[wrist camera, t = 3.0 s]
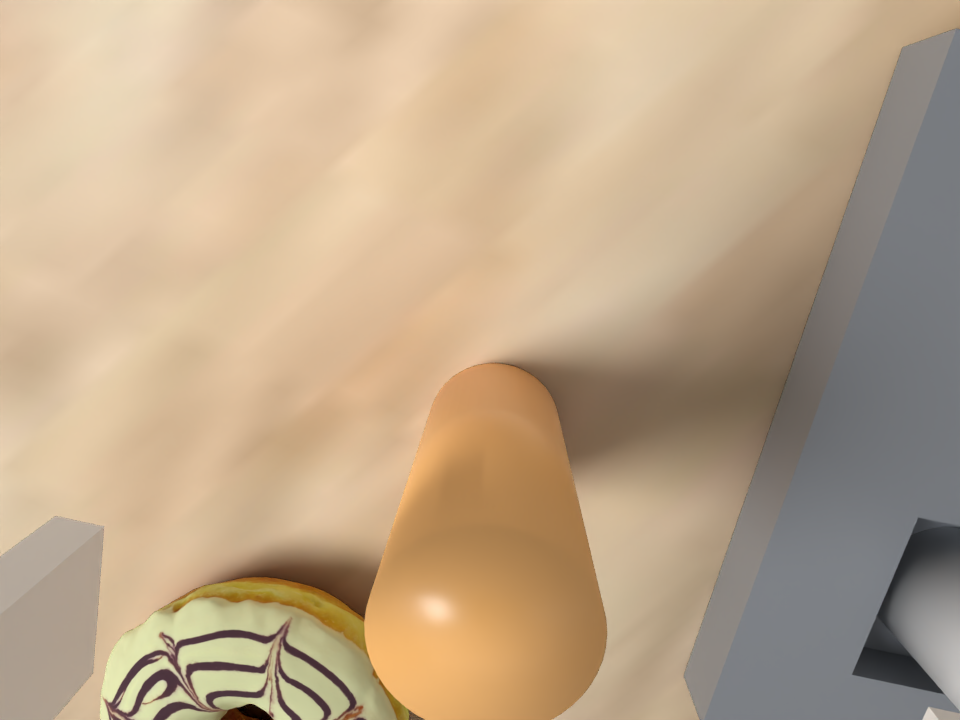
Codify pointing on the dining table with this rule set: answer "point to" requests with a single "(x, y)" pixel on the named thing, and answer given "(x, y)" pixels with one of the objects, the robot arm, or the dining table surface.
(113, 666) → the decorated donut
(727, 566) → the housing
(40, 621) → the robot arm
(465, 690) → the tan tapered peg
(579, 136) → the dining table surface
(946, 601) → the white rounded peg
